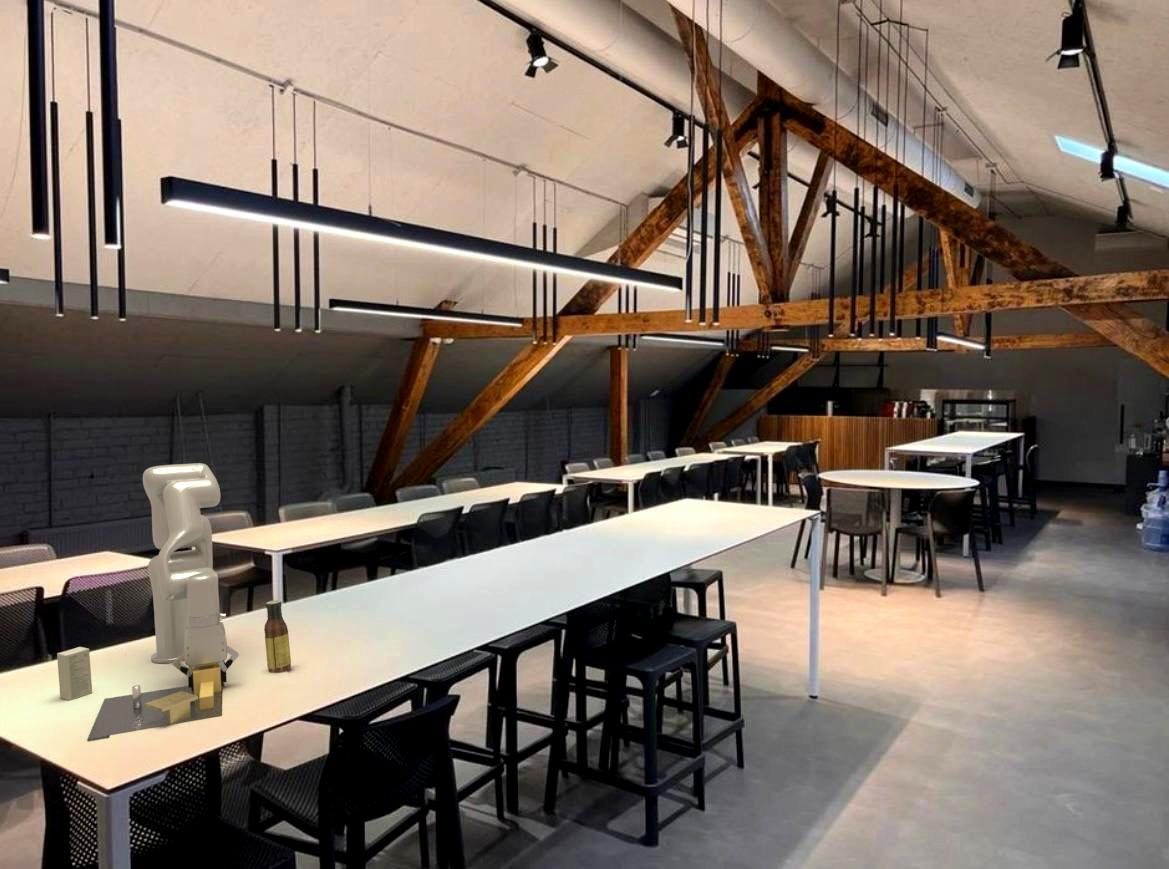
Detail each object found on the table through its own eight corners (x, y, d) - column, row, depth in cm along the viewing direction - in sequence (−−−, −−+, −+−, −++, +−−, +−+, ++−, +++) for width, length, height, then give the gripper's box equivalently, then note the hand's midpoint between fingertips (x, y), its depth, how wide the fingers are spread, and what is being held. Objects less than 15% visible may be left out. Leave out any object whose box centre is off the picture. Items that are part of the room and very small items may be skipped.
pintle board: (104, 700, 210) (103, 678, 210) (222, 682, 221) (221, 661, 221) (86, 743, 183) (85, 718, 183) (222, 719, 194) (220, 696, 194)
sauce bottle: (294, 666, 232) (290, 598, 231) (287, 674, 226) (283, 603, 225) (271, 667, 232) (267, 599, 231) (263, 675, 225) (259, 604, 224)
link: (195, 687, 216) (193, 665, 215) (221, 683, 218) (220, 661, 218) (192, 711, 199) (191, 687, 199) (220, 706, 202) (219, 682, 201)
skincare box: (83, 690, 218) (80, 646, 217) (93, 693, 216) (90, 648, 215) (59, 698, 212) (56, 653, 212) (68, 701, 210) (65, 655, 210)
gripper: (239, 612, 220) (243, 677, 221) (168, 621, 213) (172, 688, 214) (240, 619, 213) (243, 686, 214) (166, 628, 206) (170, 698, 207)
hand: (207, 686), depth 214 cm, fingers closed on link, 6 cm apart
